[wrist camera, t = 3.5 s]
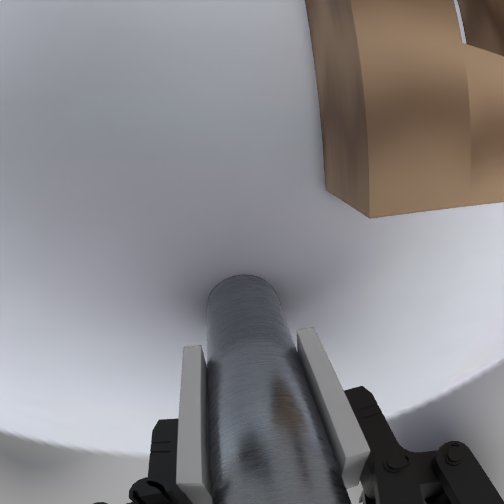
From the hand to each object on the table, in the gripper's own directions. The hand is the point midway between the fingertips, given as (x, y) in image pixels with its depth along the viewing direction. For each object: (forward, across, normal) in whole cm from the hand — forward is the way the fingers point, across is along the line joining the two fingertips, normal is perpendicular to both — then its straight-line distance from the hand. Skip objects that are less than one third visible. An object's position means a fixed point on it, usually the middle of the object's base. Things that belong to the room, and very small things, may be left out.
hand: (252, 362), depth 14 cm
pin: (+5, 0, 0) cm, 5 cm away
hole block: (+5, +13, +16) cm, 21 cm away
